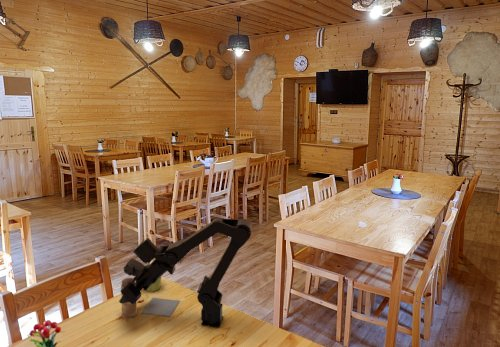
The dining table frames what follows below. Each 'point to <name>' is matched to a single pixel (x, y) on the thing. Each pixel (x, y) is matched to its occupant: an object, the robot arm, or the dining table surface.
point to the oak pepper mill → (128, 308)
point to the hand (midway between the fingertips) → (125, 296)
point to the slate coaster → (160, 307)
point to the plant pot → (154, 285)
